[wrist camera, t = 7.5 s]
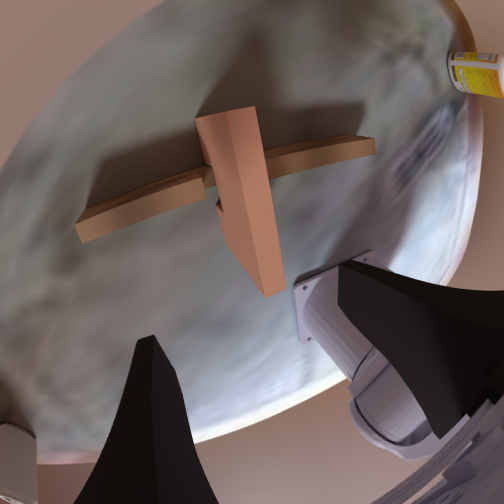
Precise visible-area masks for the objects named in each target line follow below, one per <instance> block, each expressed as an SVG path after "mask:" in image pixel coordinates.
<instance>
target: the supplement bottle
mask: <svg viewBox="0 0 504 504" xmlns="http://www.w3.org/2000/svg"><path fill="white" fill-rule="evenodd" d="M448 70H449V74H450V78H451V80H452V82H453V84H454V86H455V87H456V88H457V89H458V90H459V91H461V92H467V93H474V94H481V95H487V96H493V97H498V98H503V99H504V56H502V55H497V54H487V53H474V52H452V53H451V54H450V55H449V57H448Z"/></svg>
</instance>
